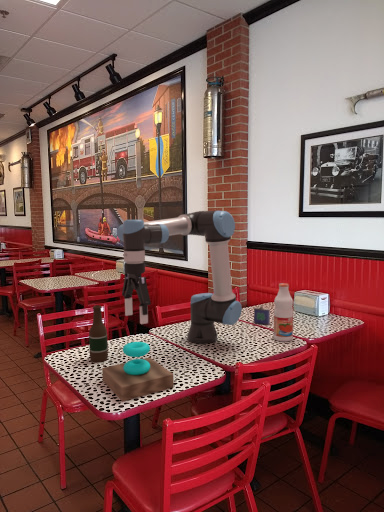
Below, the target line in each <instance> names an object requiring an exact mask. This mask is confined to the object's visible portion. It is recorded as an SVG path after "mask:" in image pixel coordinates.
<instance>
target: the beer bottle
mask: <svg viewBox="0 0 384 512" xmlns="http://www.w3.org/2000/svg"><path fill="white" fill-rule="evenodd" d="M92 310H93V315H92V316H93V317H92V318H93V319H92V325H91V327H90V328H89V331H88V346H89V347H88V348H89V360H90V362H92V363H103V362H105V361H107V359H108V357H109V348H108V347H109V346H108V330H107V327H106V326H105V325H104V323H103V316H102V314H103V313H102V306H101V305H99V304H97V305H93V306H92Z"/></svg>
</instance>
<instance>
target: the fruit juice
mask: <svg viewBox="0 0 384 512" xmlns="http://www.w3.org/2000/svg"><path fill="white" fill-rule="evenodd" d="M289 288H290V284H289V283H284V282H281V283H279V284H278V292H277V295H276V296H275V298H274V301H273V302H274V304H273V305H274V310H273V339H274V340H275V341H278V342H291V341H292V340H293V338H294V311H293V305H294V300H293V298H292V295H291V293H290V291H289Z"/></svg>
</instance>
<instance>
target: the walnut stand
mask: <svg viewBox="0 0 384 512" xmlns="http://www.w3.org/2000/svg"><path fill="white" fill-rule="evenodd" d="M143 359H144V360H146V361H148V362H149V363H150V370H149V371H148V372H146V373H144V374H141V375H130V374H127V373H126V372H125V371H124V369H123V367H124V364H125V363H126V362H122V363H117V364H113V365H108V366H106V367H102V368H101V371H102V372H101V374H102V377H101V379H102V382H104V384H105V385H106V386H107V387H108V388H109V389H110V390H111V391H112V392H113V394H115V395H116V396H117V398H119V400H120V401H121V402H126V401H130V400H132V399H136V398H137V399H138V398H141V397H143V396H147V395H151V394H154V393H158V392H161V391H165V390H170V389H172V388H174V379H175V378H174V373H172V372H171V371H170V370H168V369H167V368H166V367H164V366H163V365H161V364H160V363H158V361H156V360H154V359H153V358H151V357H145V358H143Z"/></svg>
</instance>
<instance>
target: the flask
mask: <svg viewBox="0 0 384 512" xmlns="http://www.w3.org/2000/svg"><path fill="white" fill-rule="evenodd" d="M270 312H271V310H270V308H264V305H260V306H257V307H254V308H253V324H254V325H255V324H256V325H263V326H269V325H271V323H270V316H271V313H270Z"/></svg>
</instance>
